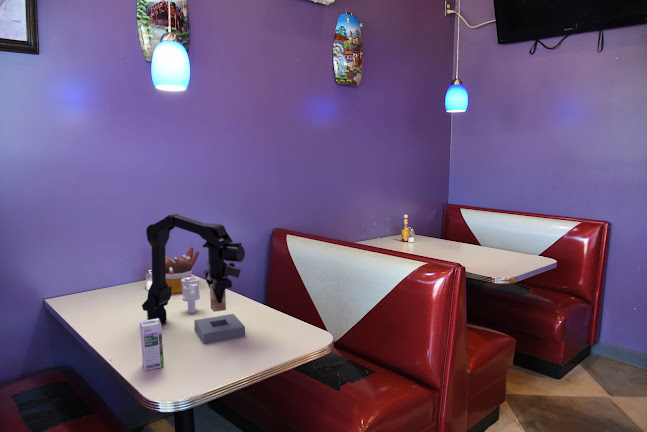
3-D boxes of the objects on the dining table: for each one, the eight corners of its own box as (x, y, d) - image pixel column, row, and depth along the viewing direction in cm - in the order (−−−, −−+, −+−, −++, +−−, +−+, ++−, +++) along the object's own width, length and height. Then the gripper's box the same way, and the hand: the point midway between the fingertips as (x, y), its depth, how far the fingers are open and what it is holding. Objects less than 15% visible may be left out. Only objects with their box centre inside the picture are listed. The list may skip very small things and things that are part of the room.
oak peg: (213, 311, 173) (212, 287, 172) (210, 308, 177) (209, 284, 176) (226, 309, 175) (225, 286, 174) (222, 306, 179) (221, 282, 178)
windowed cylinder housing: (180, 314, 197) (178, 278, 195) (186, 308, 204) (185, 274, 202) (196, 314, 196) (195, 279, 194) (203, 308, 203) (201, 274, 201)
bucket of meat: (165, 299, 217) (163, 256, 214) (150, 291, 229) (147, 250, 226) (205, 289, 230) (203, 249, 227) (188, 282, 242) (186, 244, 239)
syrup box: (144, 371, 147) (141, 326, 145) (142, 363, 152) (139, 320, 150) (164, 367, 150) (161, 323, 148) (161, 360, 155) (158, 317, 153)
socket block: (203, 343, 167) (203, 333, 167) (194, 329, 181) (194, 320, 180) (245, 335, 174) (244, 326, 173) (233, 322, 187) (233, 313, 187)
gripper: (245, 262, 169) (247, 305, 171) (231, 252, 185) (232, 291, 187) (214, 266, 164) (216, 310, 166) (202, 255, 180) (203, 295, 182)
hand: (218, 301), depth 176 cm, fingers closed on oak peg, 4 cm apart
